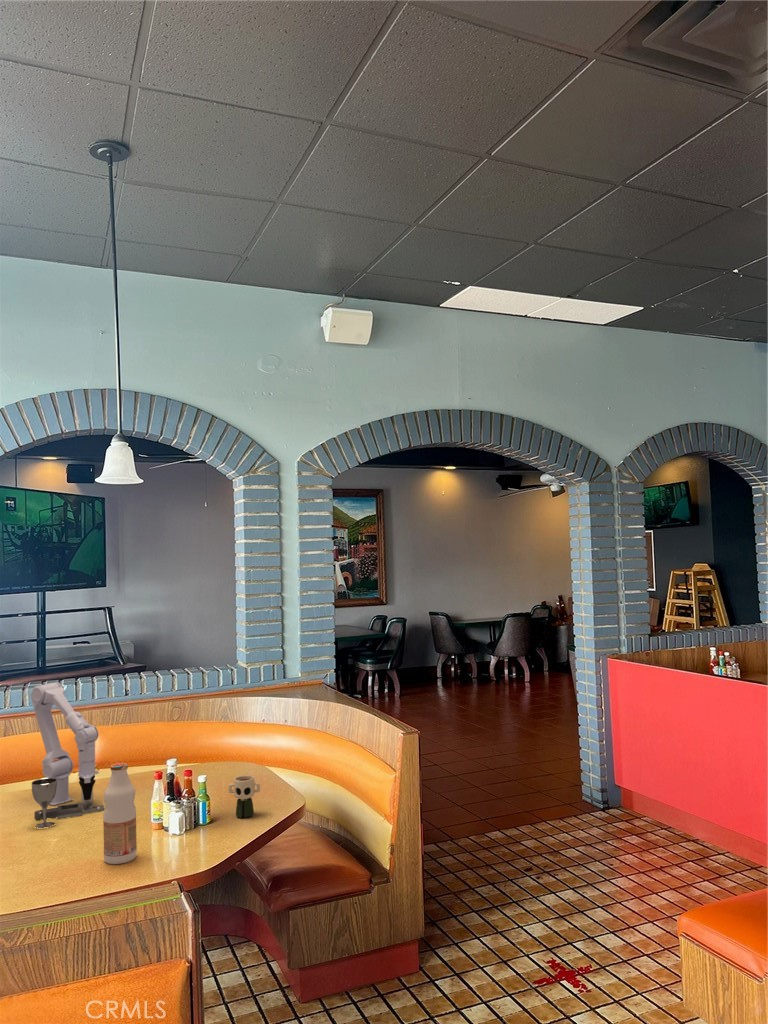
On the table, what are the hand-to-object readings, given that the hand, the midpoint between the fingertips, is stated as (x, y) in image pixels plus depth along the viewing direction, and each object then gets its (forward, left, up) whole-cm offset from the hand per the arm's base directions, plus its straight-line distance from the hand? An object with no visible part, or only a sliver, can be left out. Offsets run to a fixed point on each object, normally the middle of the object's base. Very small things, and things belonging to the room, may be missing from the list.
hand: (87, 797), depth 285 cm
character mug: (+56, +30, -3) cm, 63 cm away
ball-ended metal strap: (+4, -8, -3) cm, 10 cm away
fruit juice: (+57, -17, -3) cm, 59 cm away
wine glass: (+8, -19, -3) cm, 21 cm away
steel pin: (0, 0, -3) cm, 3 cm away
